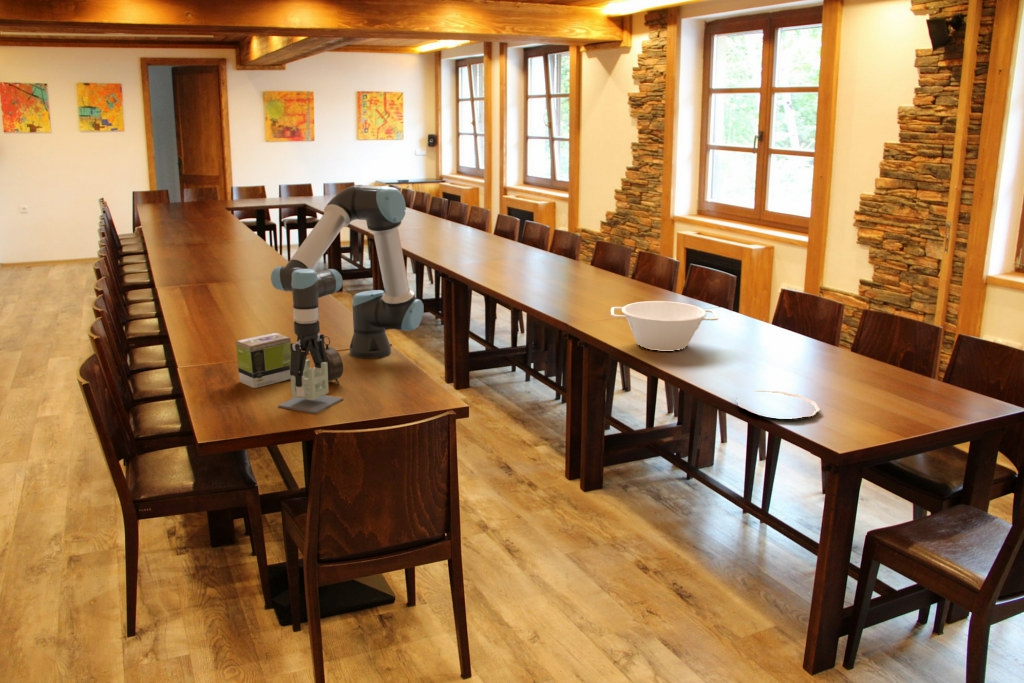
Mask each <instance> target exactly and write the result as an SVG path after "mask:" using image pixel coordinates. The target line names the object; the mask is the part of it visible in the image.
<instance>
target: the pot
mask: <svg viewBox="0 0 1024 683" xmlns="http://www.w3.org/2000/svg"><path fill="white" fill-rule="evenodd" d="M615 310H621V312H622V313H623V315H622V314H615ZM707 313H711V314H713V317H712V318H711V317H706V316H707ZM610 316H611V317H613V318H625V319H626V321H627V323H628V325H629V326H628V327H629V328H630V330H631V333H632V334H633V335H632V336H633V337H634V340H635V343H636V344H637V346H639V345H640V346H643V347H646V348H651V349H659V350H677V349H682V348H684V349H686V348H687V347H688V346H689V343H690V342H691V340H692V338H693V337H694V336H695V333H696V331H697V330H698V329H699V328H700V325H701V323H702V321H718V320H719V316H718V314H717V312H716V311H715V310H711V309H703V308H702V307H699V306H697V305H693V304H689V303H685V302H677V301H669V300H668V301H666V300H645V301H637V302H632V303H629V304H626V305H624V306H612V307H611V308H610ZM640 346H639V347H640ZM686 346H687V347H686ZM685 347H686V348H685ZM682 350H683V349H682Z"/></svg>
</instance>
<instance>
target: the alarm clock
mask: <svg viewBox="0 0 1024 683" xmlns="http://www.w3.org/2000/svg"><path fill="white" fill-rule="evenodd" d="M325 338H327V339H328V341H329V342H328V343H326V342H325V341H324V346H325V353H326V359H327V366H328V382H331V381H335V383H336V384H337V386H340V383H339V380H338V379H340V378H341V377H342V376H343V372H344V362H343V359H342V356H341V355H340V353H339V351H337V350H336V349H335V348H334V347H332V346H330V344H331V339H330V337H329V336H328V335H324V339H325ZM322 360H323V359H322ZM314 367H316V366H315V365H314Z"/></svg>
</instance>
